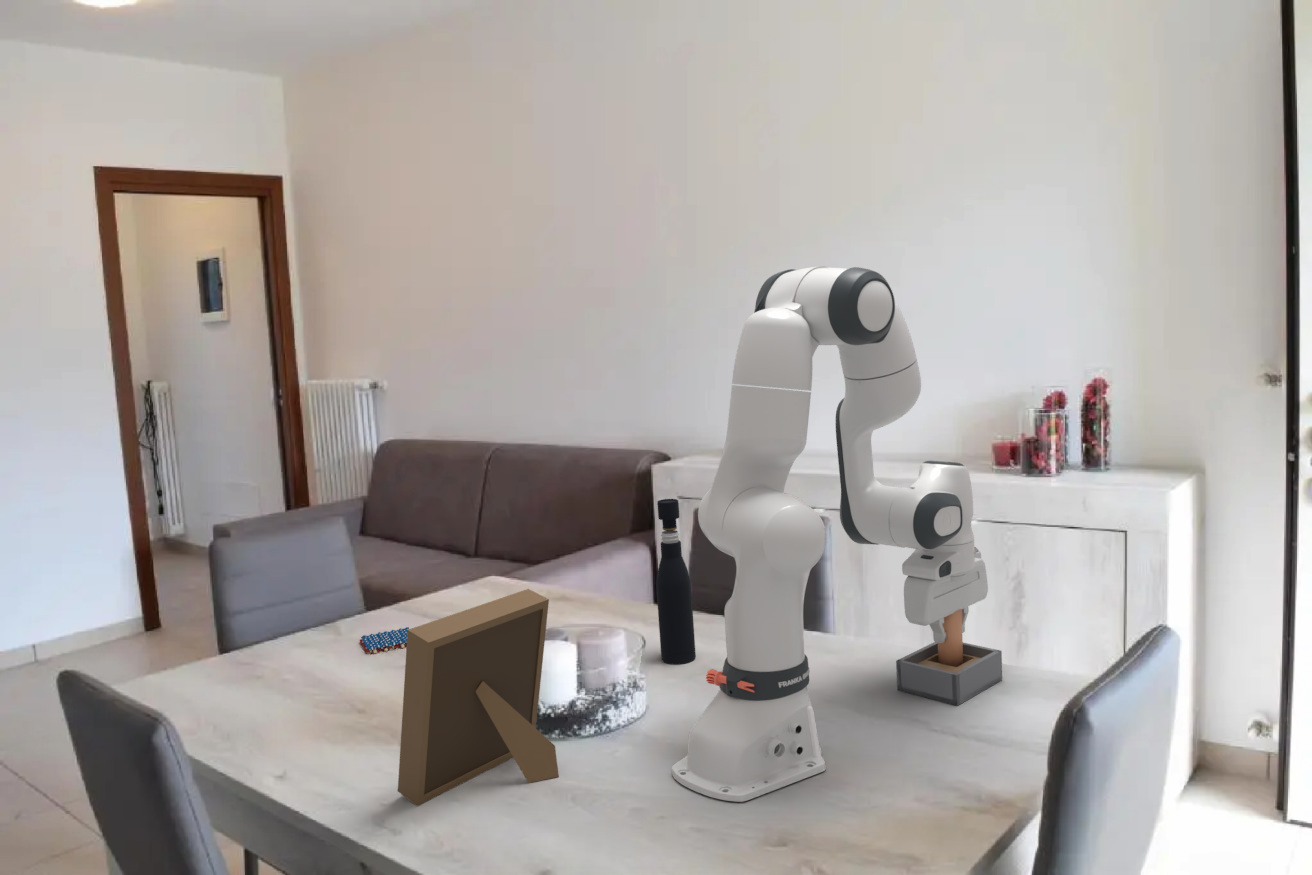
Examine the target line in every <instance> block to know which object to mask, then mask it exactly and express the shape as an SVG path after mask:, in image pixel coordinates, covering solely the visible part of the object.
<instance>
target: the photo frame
mask: <svg viewBox="0 0 1312 875" xmlns="http://www.w3.org/2000/svg"><path fill="white" fill-rule="evenodd" d="M549 602H550V599H549V598H547V597H545V596H543V595H541V594H539V593H537V592H535V591H534V590H532V589H529V588H527V589H523V590H521V591H518V592H515V593H512V594H509V595H506V596H503V597H500V598H498V599H497V598H496V599H495V600H492V601H489V602H486V603H482V604H479V605H477V606H474V607H471V608H468V609H465V610H462V611H459V612H456V613H453V614H451V615H448V616H444V617H441V618H438V619H436V620H433V621H429V622H427V623H424V624H420V625H417V626H415V627H413V628H412V627H411V628H409V630H408V629H407V630H408V632H407V647H406V652H405V653H406V655H405V666H404V667H405V668H404V685H403V697H402V698H403V699H402V702H403V703H402V715H401V716H402V717H401V719H402V720H401V731H400V732H401V733H400V745H399V746H400V748H399V749H400V750H399V763H398V764H399V765H398V781H397V792H398V793H399V794H400V795H402V796H403V797H405V799H407V800H408V801H410V803H412V804H414V805H415V806H416V807H419V806H421V805H423V804H424V803H427V802H430V801H431V800H432V799H434V798H437V797H438V796H441V795H443V794H444V793H447V792H448V791H450V790H452V789H454V788H456V787H459V786H460V785H463V784H464V783H466V782H468V781H470V780H472V779H474V778H476V777H478V776H480V775H482V774H484V773H486V772H488V771H490V770H491V769H494V768H495V767H498V766H500V765H501V764H504V763H506V762H507V761H510V760H512V759H514V761H515V763H516V764H517V766H518V768H519V769H520V771H521V773H522V775H523V776H524V778H525V780H526V782H527V783H528V784H530V783H532V784H533V783H537V782H540V781H545V780H548V779H550V780H551V779H555V778H559V768H558V760H557V754H556V753H557V752H556V751H557V750H556V745H555V744H554V742H551V741H550V740H549V738H547V737H546V736H545V735H544V734H543V733H542V732H540V731H539V730H538V729H537V721H538V719H537V718H538V712H539V711H538V710H539V709H538V708H539V700H540V690H541V681H542V679H541V678H542V672H543V671H542V670H543V669H542V668H543V660H544V653H545V652H544V651H545V642H546V641H545V640H546V630H547V620H548V613H549V611H548V610H549Z"/></svg>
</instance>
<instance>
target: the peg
mask: <svg viewBox="0 0 1312 875" xmlns="http://www.w3.org/2000/svg"><path fill="white" fill-rule="evenodd" d="M942 625H943V628H944V631H947V634H948V635H947V637H948V640H947V641H945V642H943V643H938V663H940V664H944V665H949V666H953V667H958V666H960V665H962V664H963V643H964V641H963V633H962V610H961V609H960V610H958V611H956V612H954V613H953V614H951V615H949V616H946V617H944V623H943V624H942Z"/></svg>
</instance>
